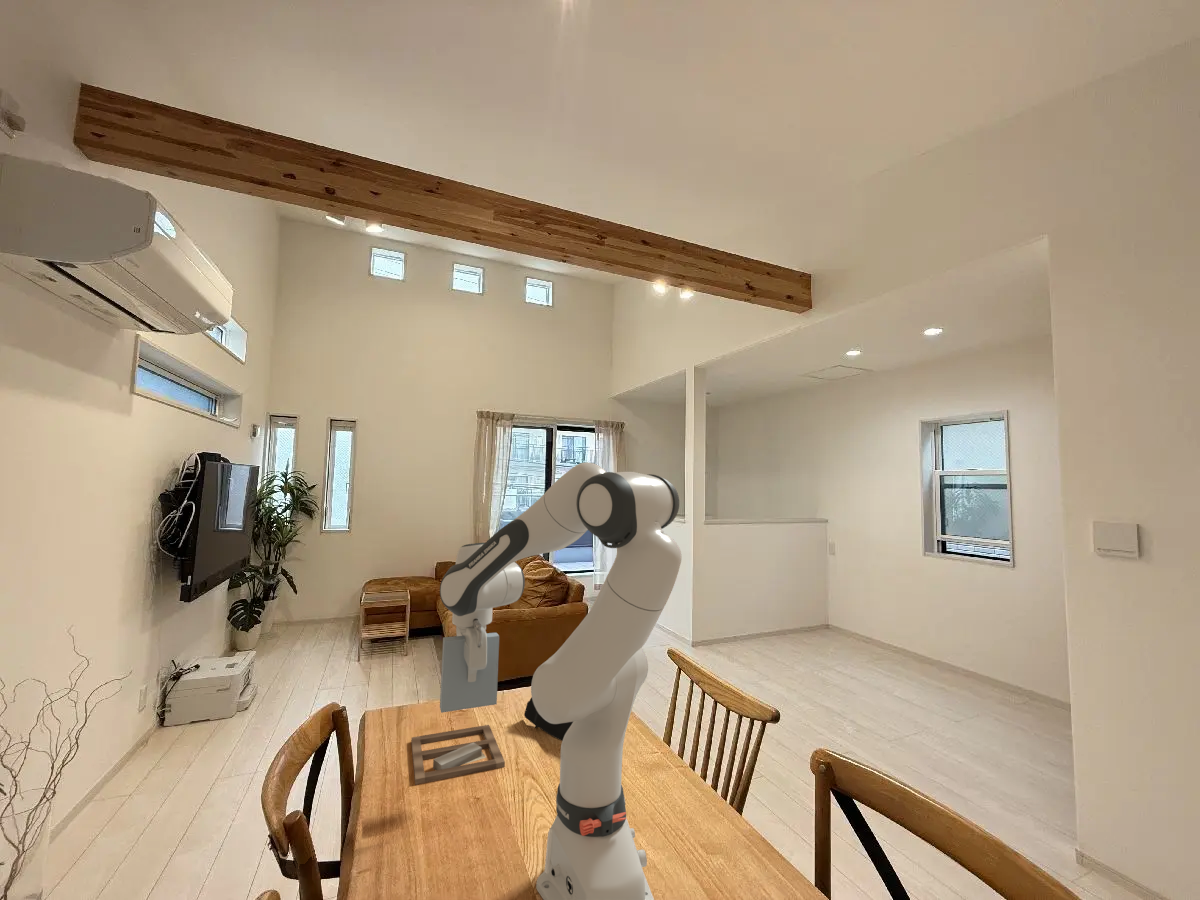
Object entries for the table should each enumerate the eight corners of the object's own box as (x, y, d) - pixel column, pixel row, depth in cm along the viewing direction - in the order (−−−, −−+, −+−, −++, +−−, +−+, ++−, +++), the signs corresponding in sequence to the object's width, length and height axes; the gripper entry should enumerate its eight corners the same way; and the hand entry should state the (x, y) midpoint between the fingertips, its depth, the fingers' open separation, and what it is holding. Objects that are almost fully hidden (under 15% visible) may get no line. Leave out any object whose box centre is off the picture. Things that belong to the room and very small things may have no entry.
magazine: (628, 722, 124) (544, 662, 141) (621, 726, 121) (536, 665, 139) (610, 782, 125) (529, 716, 143) (603, 789, 123) (521, 720, 140)
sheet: (496, 704, 110) (499, 636, 111) (441, 712, 105) (444, 641, 107) (493, 699, 113) (496, 632, 114) (439, 707, 108) (443, 637, 109)
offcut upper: (481, 756, 120) (481, 747, 121) (440, 774, 112) (441, 765, 112) (473, 750, 123) (473, 742, 123) (432, 768, 115) (433, 759, 115)
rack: (504, 772, 116) (504, 761, 116) (414, 791, 108) (415, 779, 108) (488, 734, 134) (489, 724, 134) (411, 747, 126) (411, 737, 126)
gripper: (495, 624, 103) (493, 692, 101) (479, 603, 121) (476, 661, 120) (465, 627, 100) (461, 697, 99) (452, 605, 119) (450, 664, 117)
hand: (469, 677), depth 110 cm, fingers closed on sheet, 3 cm apart
